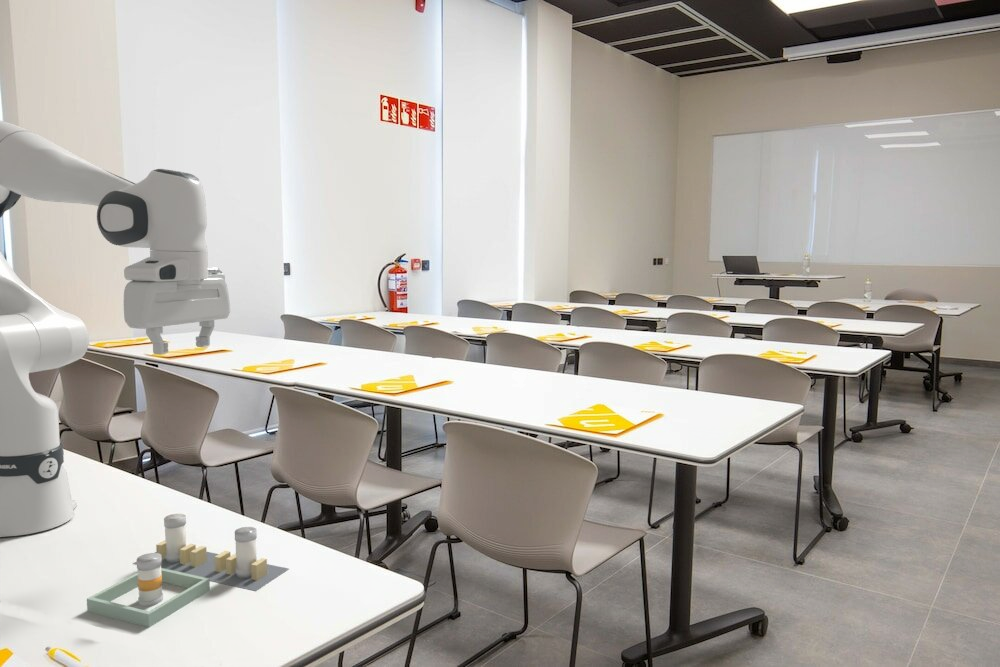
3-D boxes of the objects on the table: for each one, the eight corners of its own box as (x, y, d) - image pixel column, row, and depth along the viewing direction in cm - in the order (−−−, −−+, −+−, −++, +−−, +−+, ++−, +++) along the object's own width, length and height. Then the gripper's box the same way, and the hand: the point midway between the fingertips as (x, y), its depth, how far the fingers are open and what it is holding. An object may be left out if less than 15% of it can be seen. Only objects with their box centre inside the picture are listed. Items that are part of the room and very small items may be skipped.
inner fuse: (161, 560, 116) (159, 519, 115) (176, 553, 119) (174, 512, 118) (176, 564, 115) (175, 522, 114) (191, 556, 118) (190, 515, 117)
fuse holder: (133, 570, 115) (132, 549, 115) (171, 551, 122) (170, 530, 122) (256, 598, 107) (255, 575, 106) (289, 575, 114) (289, 554, 114)
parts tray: (87, 619, 100) (86, 598, 100) (151, 584, 111) (151, 565, 110) (149, 635, 96) (148, 614, 96) (210, 597, 107) (209, 578, 106)
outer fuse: (231, 576, 111) (230, 532, 110) (245, 567, 114) (244, 525, 113) (248, 580, 110) (247, 536, 109) (261, 571, 113) (260, 528, 112)
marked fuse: (133, 607, 102) (131, 560, 102) (151, 597, 105) (149, 551, 105) (150, 611, 101) (148, 564, 101) (168, 601, 104) (166, 555, 103)
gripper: (209, 266, 131) (211, 341, 133) (114, 269, 112) (118, 356, 114) (237, 267, 129) (239, 343, 131) (145, 270, 110) (149, 359, 112)
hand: (182, 350), depth 122 cm, fingers open, 8 cm apart
